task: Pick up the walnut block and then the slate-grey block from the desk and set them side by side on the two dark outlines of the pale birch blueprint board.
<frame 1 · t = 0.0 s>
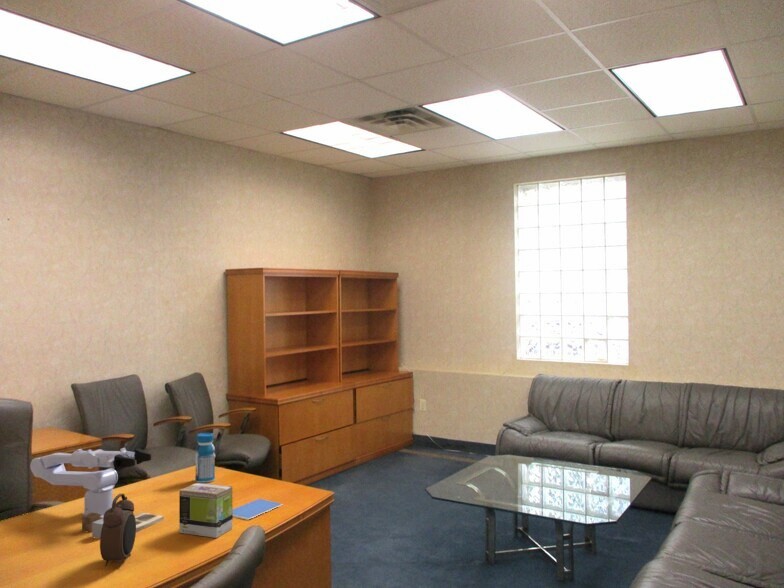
hand: (142, 459, 222), 22 cm above the table, tool horizontal, fingers open, 7 cm apart
blueprint board: (138, 524, 218), on the table
grey block: (101, 536, 208), on the table
alarm clock: (119, 562, 188), on the table
walnut block: (91, 529, 213), on the table
tea box: (206, 531, 212), on the table
beverage bottle: (205, 480, 270), on the table
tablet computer: (254, 511, 234), on the table
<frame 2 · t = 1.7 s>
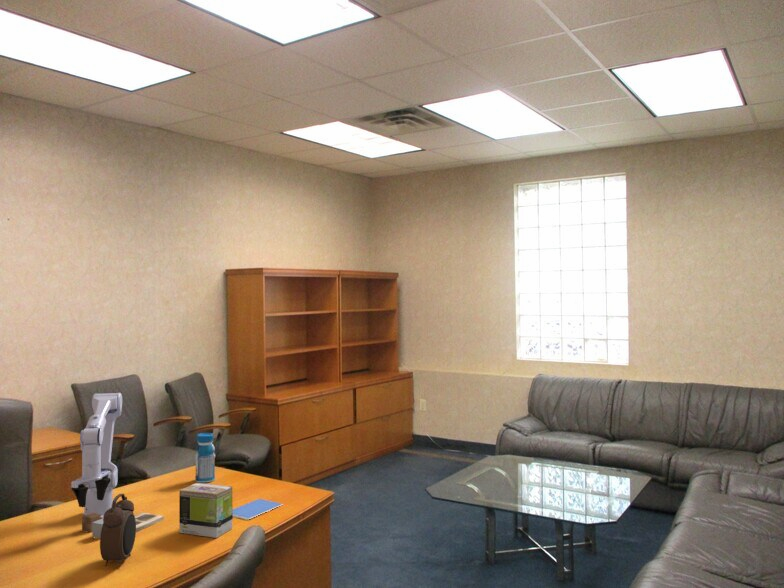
hand: (91, 503, 213), 9 cm above the table, tool pointing down, fingers open, 7 cm apart
nothing on the table moved.
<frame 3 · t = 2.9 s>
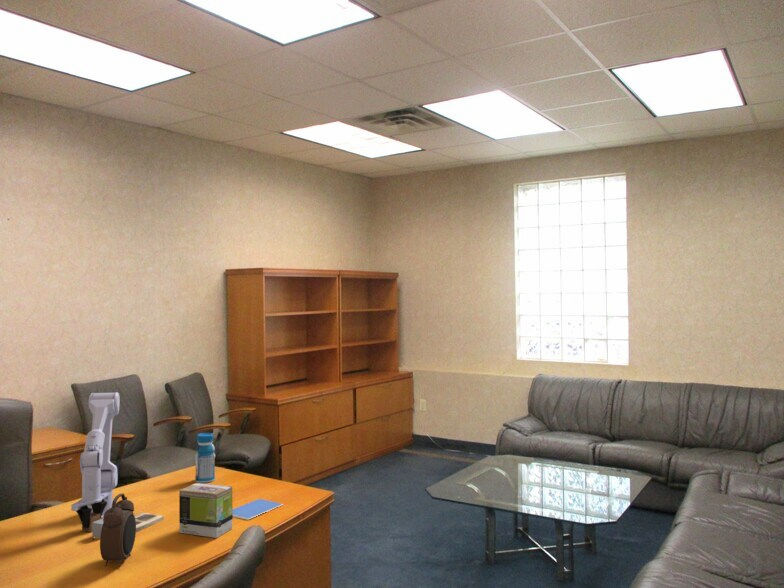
hand: (91, 525, 213), 1 cm above the table, tool pointing down, fingers closed on walnut block, 4 cm apart
walnut block: (91, 529, 213), on the table, touching gripper
everything else where it was.
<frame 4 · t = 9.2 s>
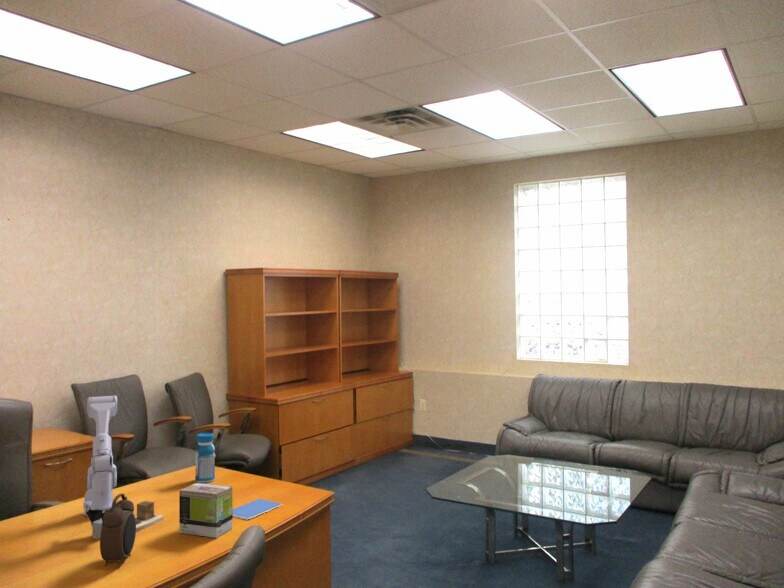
hand: (101, 531, 208), 1 cm above the table, tool pointing down, fingers closed on grey block, 4 cm apart
grey block: (101, 536, 208), on the table, touching gripper
walnut block: (145, 517, 222), point 1 cm above the table, touching blueprint board
everything else where it was.
when the fingers open (4 cm above the table, at t = 12.1 s): grey block stays where it is, resting on blueprint board.
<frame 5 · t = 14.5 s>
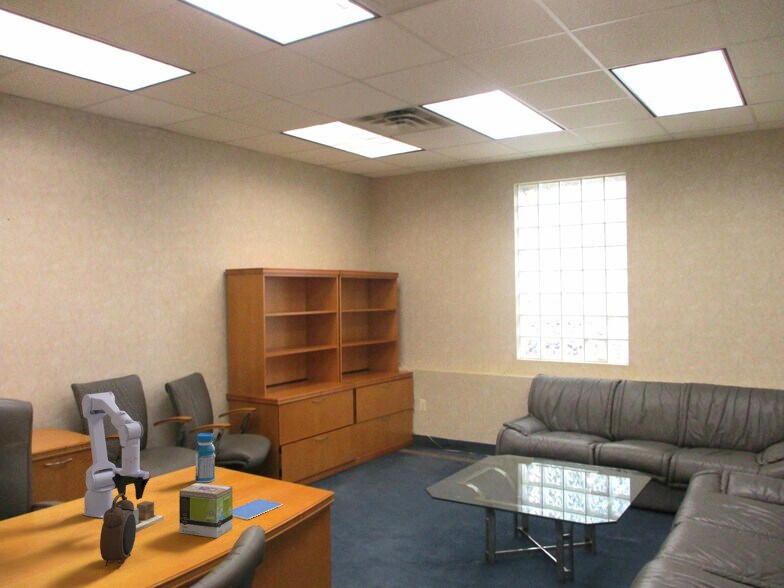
hand: (130, 497, 215), 10 cm above the table, tool pointing down, fingers open, 7 cm apart
grey block: (129, 524, 215), point 1 cm above the table, touching blueprint board
everything else where it was.
at the end: walnut block inside the target area on the blueprint board (0.6 cm from its centre), point 1.3 cm above the blueprint board's base; grey block inside the target area on the blueprint board (0.9 cm from its centre), point 1.3 cm above the blueprint board's base; walnut block tilted 0° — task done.
